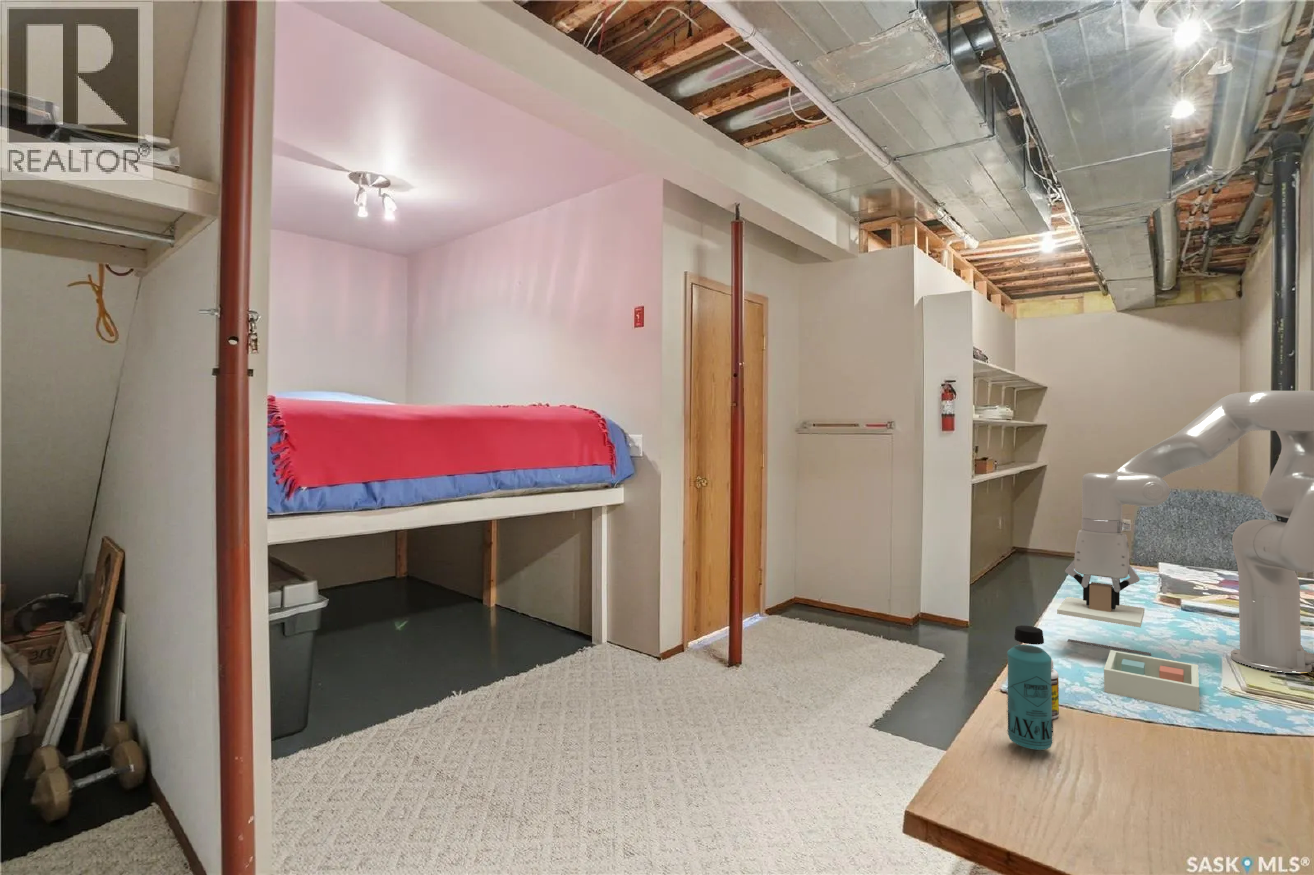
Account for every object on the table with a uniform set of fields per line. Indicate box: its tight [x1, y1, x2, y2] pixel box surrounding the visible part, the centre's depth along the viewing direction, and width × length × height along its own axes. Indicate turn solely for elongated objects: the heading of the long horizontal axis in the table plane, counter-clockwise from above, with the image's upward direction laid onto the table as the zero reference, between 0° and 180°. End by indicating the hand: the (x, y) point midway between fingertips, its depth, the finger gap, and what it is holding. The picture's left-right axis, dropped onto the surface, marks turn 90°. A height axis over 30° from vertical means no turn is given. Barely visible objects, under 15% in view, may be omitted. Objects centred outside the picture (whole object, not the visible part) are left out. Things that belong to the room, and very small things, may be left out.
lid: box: [1056, 581, 1145, 628], centre depth 140 cm, size 15×15×6 cm
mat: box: [1067, 638, 1152, 657], centre depth 140 cm, size 16×16×1 cm
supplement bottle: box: [1051, 659, 1060, 720], centre depth 113 cm, size 6×6×10 cm
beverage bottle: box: [1005, 625, 1054, 751], centre depth 100 cm, size 6×7×20 cm
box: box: [1103, 649, 1200, 713], centre depth 121 cm, size 14×14×5 cm
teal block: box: [1121, 659, 1145, 675], centre depth 125 cm, size 4×4×4 cm
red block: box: [1159, 666, 1184, 683], centre depth 121 cm, size 4×4×4 cm
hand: (1101, 605), depth 141 cm, fingers closed on lid, 4 cm apart
